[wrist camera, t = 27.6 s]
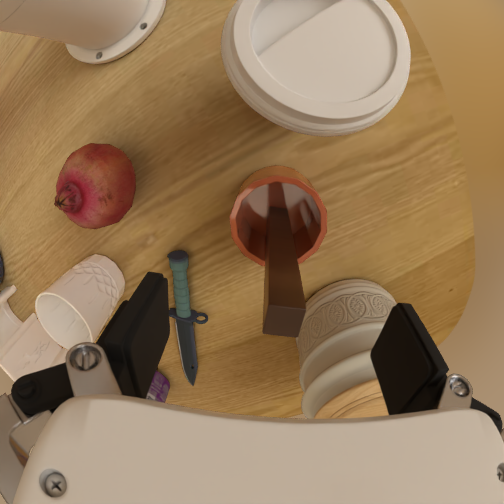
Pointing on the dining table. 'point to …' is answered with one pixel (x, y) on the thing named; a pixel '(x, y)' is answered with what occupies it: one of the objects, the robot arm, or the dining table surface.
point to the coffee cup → (317, 62)
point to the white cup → (80, 301)
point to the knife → (184, 314)
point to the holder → (282, 196)
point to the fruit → (96, 186)
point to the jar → (342, 350)
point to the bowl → (1, 271)
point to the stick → (281, 278)
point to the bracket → (25, 342)
